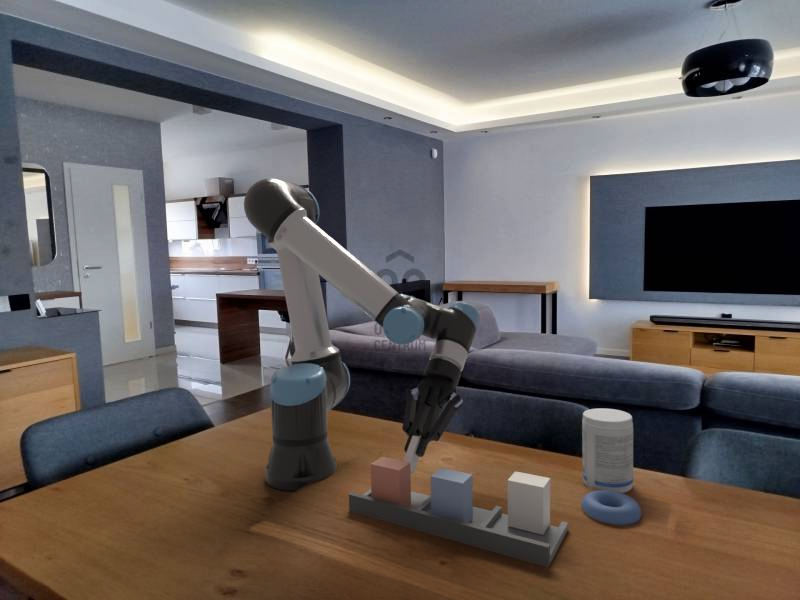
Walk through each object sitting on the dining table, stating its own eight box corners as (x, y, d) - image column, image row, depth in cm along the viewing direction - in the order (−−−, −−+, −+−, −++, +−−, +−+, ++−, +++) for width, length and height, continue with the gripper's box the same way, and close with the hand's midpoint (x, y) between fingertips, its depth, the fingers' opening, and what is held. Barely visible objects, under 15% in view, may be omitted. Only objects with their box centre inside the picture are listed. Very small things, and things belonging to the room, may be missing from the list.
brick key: (371, 506, 98) (370, 464, 97) (383, 497, 101) (382, 456, 100) (399, 514, 95) (399, 470, 94) (411, 504, 98) (410, 462, 97)
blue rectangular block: (431, 521, 92) (430, 476, 91) (441, 511, 95) (441, 467, 95) (463, 529, 89) (463, 483, 88) (472, 519, 92) (472, 474, 92)
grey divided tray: (349, 518, 97) (348, 494, 97) (384, 491, 107) (384, 470, 107) (548, 576, 79) (548, 547, 78) (568, 538, 89) (568, 512, 88)
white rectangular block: (507, 525, 90) (507, 480, 89) (515, 515, 93) (515, 471, 93) (543, 535, 87) (543, 487, 86) (550, 524, 90) (550, 478, 90)
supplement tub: (642, 487, 107) (644, 416, 106) (613, 500, 102) (614, 425, 100) (600, 471, 115) (601, 404, 114) (571, 482, 110) (572, 412, 108)
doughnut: (628, 539, 88) (628, 511, 88) (571, 522, 95) (571, 496, 95) (649, 522, 95) (649, 496, 95) (594, 507, 102) (594, 483, 102)
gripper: (478, 379, 114) (444, 485, 101) (424, 372, 120) (386, 471, 108) (467, 359, 109) (430, 468, 96) (412, 354, 115) (370, 455, 103)
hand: (407, 470), depth 102 cm, fingers closed
